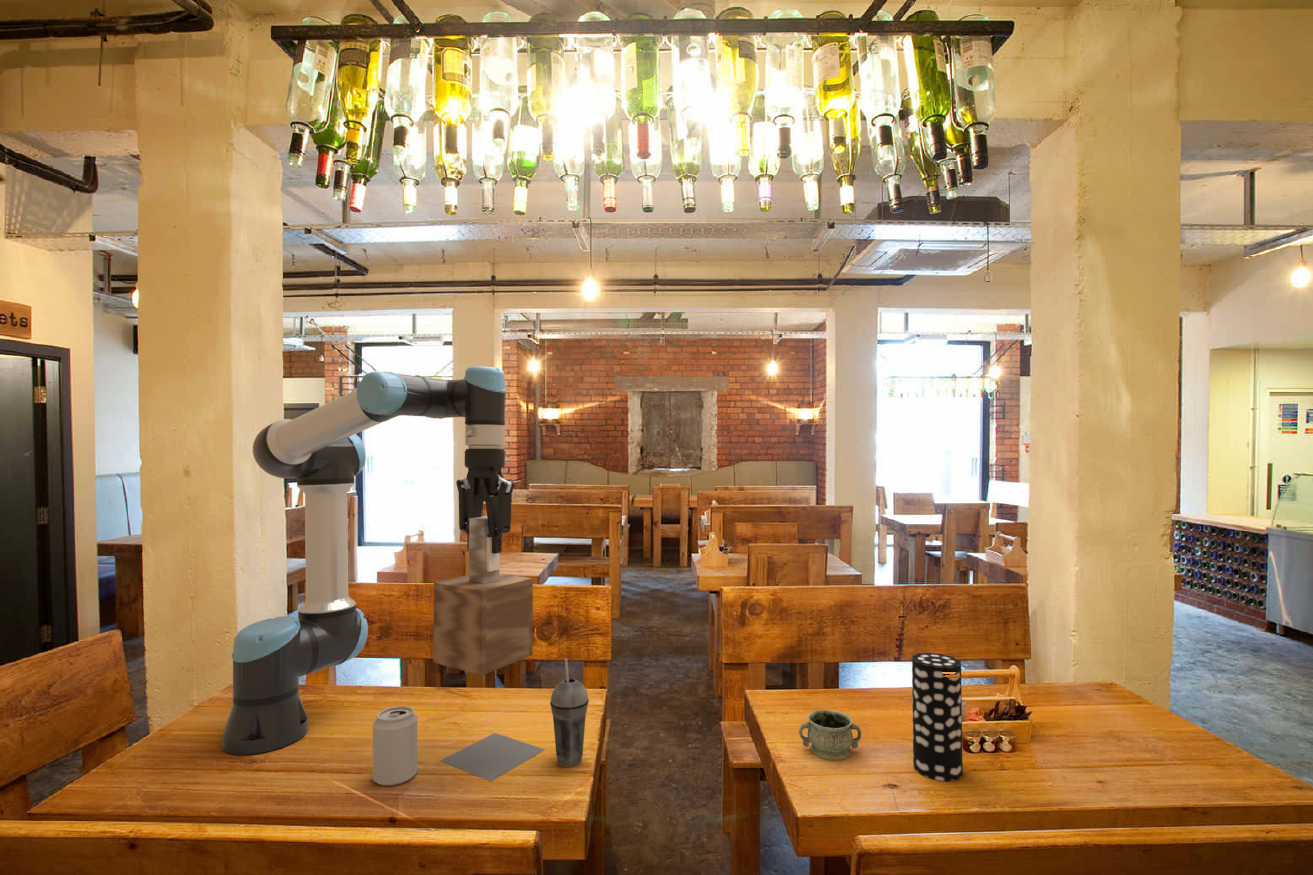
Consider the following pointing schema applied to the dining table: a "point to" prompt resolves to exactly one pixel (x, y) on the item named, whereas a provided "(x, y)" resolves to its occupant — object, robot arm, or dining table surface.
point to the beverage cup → (569, 719)
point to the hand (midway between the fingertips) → (484, 568)
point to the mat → (492, 756)
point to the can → (394, 746)
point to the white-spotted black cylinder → (937, 716)
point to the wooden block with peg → (482, 613)
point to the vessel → (830, 734)
